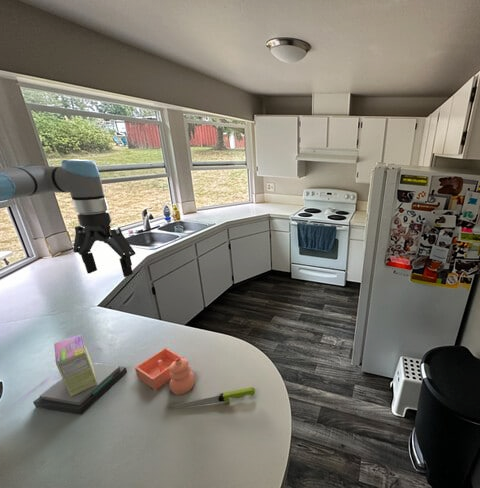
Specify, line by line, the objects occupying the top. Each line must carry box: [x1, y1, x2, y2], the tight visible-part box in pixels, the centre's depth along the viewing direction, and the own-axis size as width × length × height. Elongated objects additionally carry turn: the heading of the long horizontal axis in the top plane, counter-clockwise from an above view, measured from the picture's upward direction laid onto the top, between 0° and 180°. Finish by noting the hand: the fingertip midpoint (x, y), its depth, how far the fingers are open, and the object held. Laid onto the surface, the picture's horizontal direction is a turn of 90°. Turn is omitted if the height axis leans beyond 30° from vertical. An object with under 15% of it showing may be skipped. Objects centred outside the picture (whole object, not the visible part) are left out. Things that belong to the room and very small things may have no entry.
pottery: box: [134, 347, 196, 396], centre depth 76 cm, size 18×10×10 cm, turn 63°
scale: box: [33, 362, 128, 416], centre depth 73 cm, size 14×14×3 cm
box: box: [54, 333, 97, 397], centre depth 70 cm, size 10×6×12 cm, turn 47°
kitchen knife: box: [170, 386, 256, 409], centre depth 70 cm, size 22×1×3 cm, turn 101°
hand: (110, 273), depth 85 cm, fingers open, 13 cm apart
